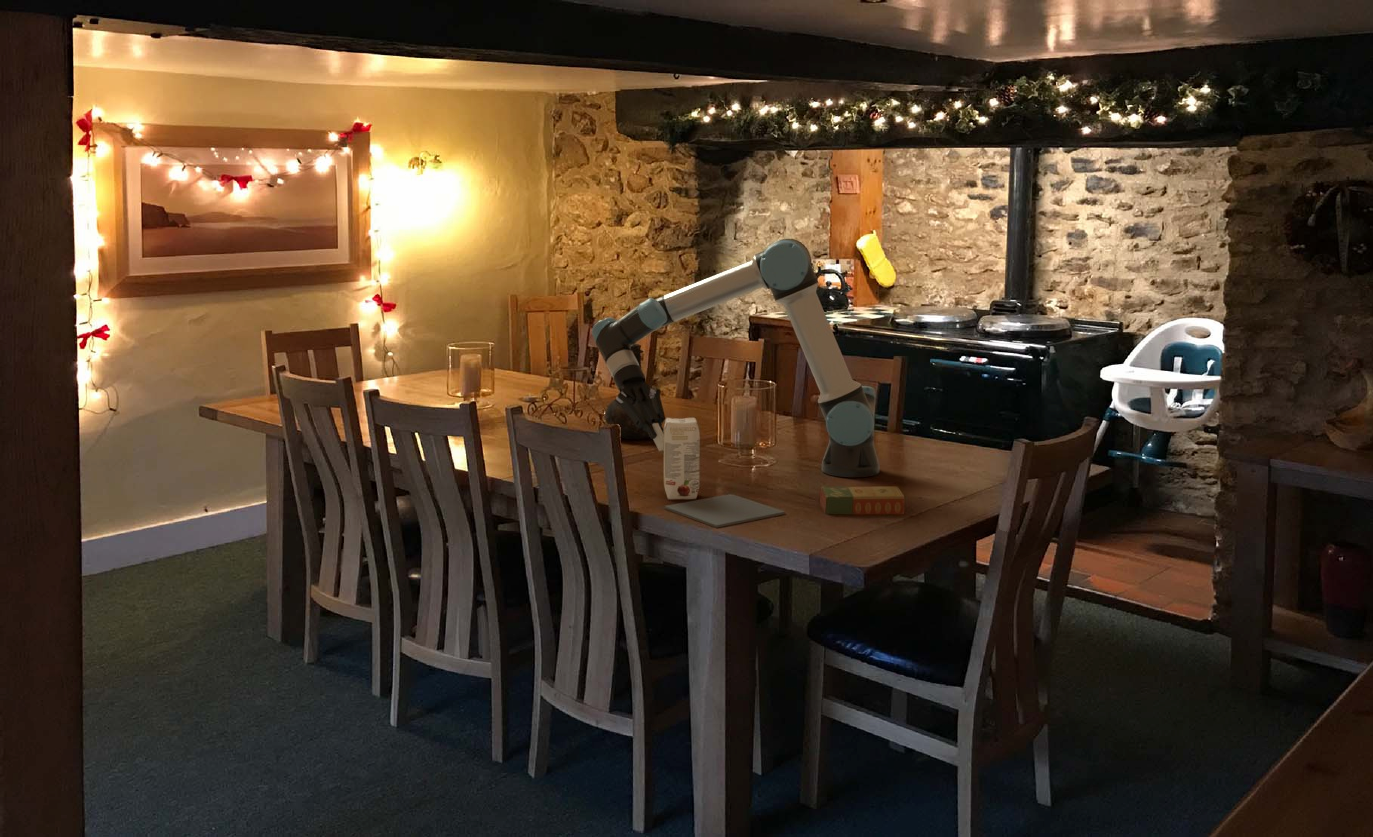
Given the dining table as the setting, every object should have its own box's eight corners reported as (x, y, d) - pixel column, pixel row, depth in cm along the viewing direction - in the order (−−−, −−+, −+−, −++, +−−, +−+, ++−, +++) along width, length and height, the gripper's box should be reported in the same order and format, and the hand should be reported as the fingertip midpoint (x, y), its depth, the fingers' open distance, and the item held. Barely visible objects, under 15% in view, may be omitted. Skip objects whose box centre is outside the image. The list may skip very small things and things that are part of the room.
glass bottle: (650, 444, 351) (650, 349, 346) (595, 440, 357) (594, 346, 352) (673, 433, 367) (673, 342, 362) (619, 429, 373) (619, 339, 368)
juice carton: (700, 500, 288) (700, 422, 285) (664, 500, 288) (664, 422, 284) (697, 492, 296) (697, 416, 292) (662, 492, 295) (662, 416, 291)
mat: (664, 508, 280) (664, 506, 280) (731, 496, 292) (731, 493, 292) (716, 527, 264) (716, 525, 264) (785, 513, 276) (785, 511, 276)
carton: (904, 516, 276) (905, 495, 275) (824, 516, 276) (825, 495, 275) (896, 505, 286) (897, 485, 285) (819, 504, 286) (820, 484, 285)
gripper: (641, 378, 311) (679, 453, 301) (598, 383, 304) (635, 459, 294) (653, 360, 306) (691, 435, 296) (610, 365, 298) (647, 442, 288)
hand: (663, 447), depth 295 cm, fingers closed
